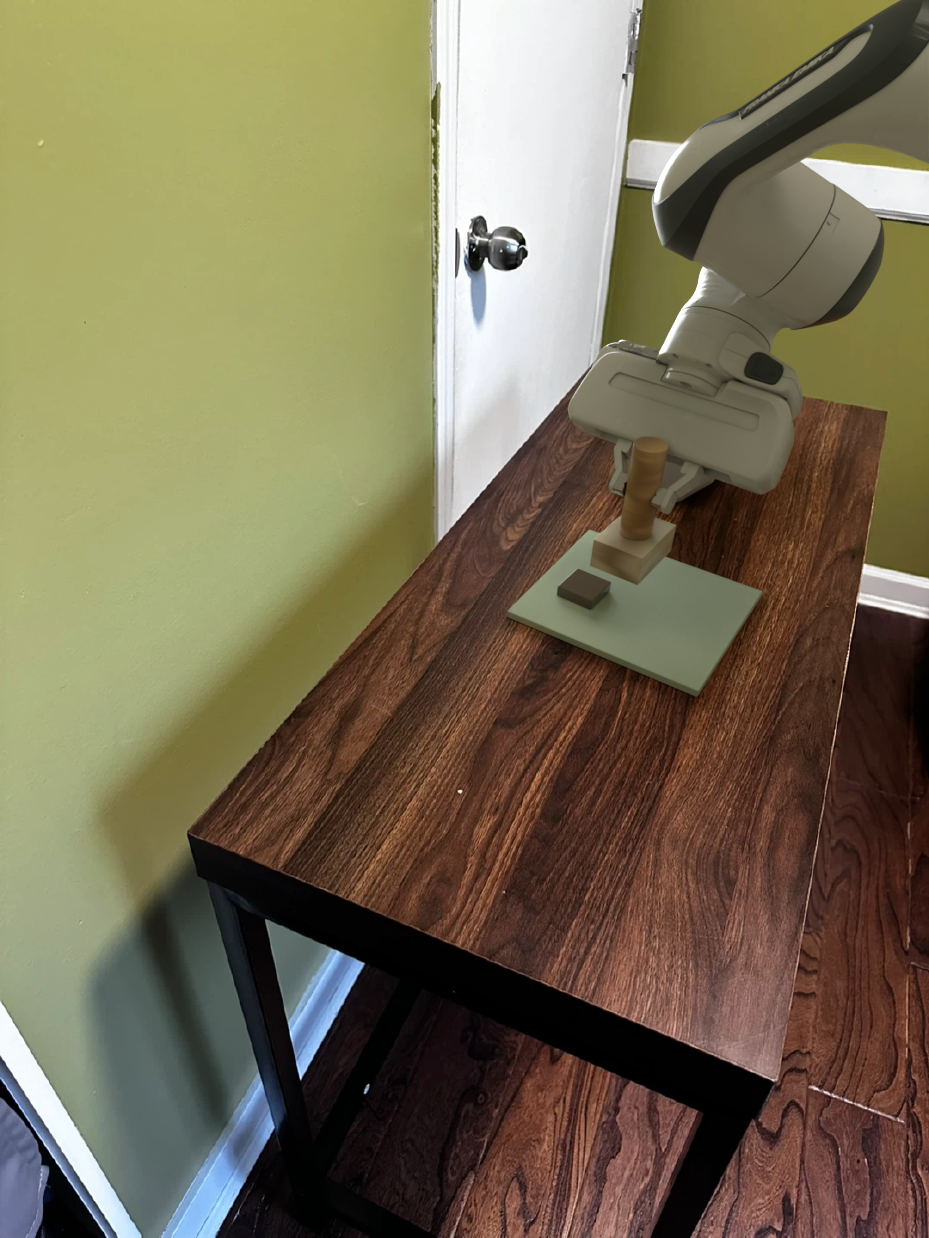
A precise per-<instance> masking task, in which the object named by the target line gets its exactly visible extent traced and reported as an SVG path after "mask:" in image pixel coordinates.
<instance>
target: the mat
mask: <svg viewBox="0 0 929 1238" xmlns="http://www.w3.org/2000/svg"><path fill="white" fill-rule="evenodd" d="M600 533H601V532H597V531H595V530H592V529H587V531H586V532H585V533H584V534H583V535H582V536H581V537H580V538H579V539H578V540H577V541H576V542H575V543H574V544H573V545H572V546H571V547H570V548H569V549H567V551H566V552H565V553H564V554H563V555H562V556H561V557H560V558H559V559H558V560H557V561H556V562H555V563H553V565H552V566H551V567H549V569H548V570H546V572H545V573H543V575H541V577H540V578H539V579H538V580H536V582H535V583H534V584H532V586H530V588H529V589H528V590H527V591H526V592H524V594H523V595H522V596H520V598H518V600H516V602H515V603H514V604H513V605H512V606H511V607H510V608H509V609H508V610H507V611H506V617H507V618H509V619H511V620H514V621H516V622H518V623H520V624H523V625H525V626H528V627H530V628H532V629H535V630H537V631H539V632H541V633H544V634H546V635H549V636H551V637H553V638H556V639H558V640H561V641H563V642H565V643H568V644H570V645H572V646H574V647H577V648H579V649H582V650H584V651H587V652H589V653H591V654H593V655H596V656H597V657H598V656H599V657H601V658H604V659H606V660H608V661H611V662H613V663H615V664H617V665H619V666H621V667H625V668H627V669H630V670H632V671H634V672H636V673H639V674H641V675H644V676H646V677H648V678H649V679H653V680H655V681H658V682H660V683H662V684H665V685H667V686H669V687H672V688H674V689H677V690H679V691H682V692H684V693H685V694H688V695H690V696H693V697H694V698H695V697H696V698H697V697H698V696H699V695H700V694H701V692H702V691H703V688H705V686H706V684H707V682H708V681H709V679H710V678H711V676H712V674H713V673H714V671H715V670H716V668H717V667H718V665H719V664H720V662H721V660H722V659H723V657H724V656H725V654H726V652H727V651H728V650H729V648H730V647H731V645H732V643H733V642H734V640H735V639H736V637H737V635H739V632H740V631H741V629H742V628H743V626H744V624H745V623H746V621H747V620H748V619H749V617H750V616H751V613H752V612H753V611H754V609H755V608H756V606H757V604H758V603H759V601H760V599H761V598H762V595H763V591H762V590H760V589H757V588H754V587H751V586H749V585H746V584H743V583H740V582H737V581H734V580H732V579H729V578H727V577H723V576H721V575H718V574H715V573H712V572H710V571H706V570H704V569H701V568H698V567H696V566H693V565H690V564H688V563H684V562H681V561H679V560H676V559H673V558H671V557H667V556H665V557H664V558H663V560H662V561H661V562H660V563H659V564H658V565H657V566H656V567H655V568H654V569H653V570H652V571H651V572H650V573H649V574H648V575H647V576H646V577H645V578H644V579H643V580H642V581H641V582H640V583H639V584H638V585H636V584H633V583H631V582H628V581H626V580H623V579H621V578H618V577H616V576H614V575H611V574H609V573H606V572H604V571H601V570H599V569H596V568H594V567H591V566H590V562H591V555H592V548H593V540H594V539H595V538H596V537H597V536H598V535H599V534H600ZM577 568H579V569H581V570H583V571H586V572H588V573H590V574H593V575H595V576H598V577H600V578H602V579H605V580H607V581H610V582H611V586H610V591H609V592H608V593H607V594H606V595H605V596H604V597H603V598H602V599H601V600H600V601H599V602H598V603H597V604H596V605H595V606H594V607H593V608H592V609H591V610H589V609H587V608H585V607H582V606H580V605H578V604H576V603H573V602H571V601H569V600H566V599H564V598H562V597H560V596H557V588H558V585H560V584H561V583H562V582H563V581H564V580H565V579H566V578H567V577H568V576H569V575H571V574H572V573H573V572H574V571H575V570H576V569H577Z"/></svg>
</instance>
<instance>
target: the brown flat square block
mask: <svg viewBox="0 0 929 1238" xmlns="http://www.w3.org/2000/svg"><path fill="white" fill-rule="evenodd" d="M610 586H611V582H610V581H607V580H605V579H602V578H600V577H598V576H595V575H593V574H590V573H588V572H586V571H583V570H581V569H579V568H577V569H576V570H575V571H574V572H573V573H572V574H571V575H569V576H568V577H567V578H566V579H565V580H564V581H563V582H562V583H561V584H560V585H558V588H557V596H560V597H562V598H564V599H566V600H569V601H571V602H573V603H576V604H578V605H580V606H582V607H585V608H587V609H589V610H591V609H592V608H593V607H594V606H595V605H596V604H597V603H598V602H599V601H600V600H601V599H602V598H603V597H604V596H605V595H606V594H607V593H608V592H609V591H610Z"/></svg>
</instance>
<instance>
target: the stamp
mask: <svg viewBox="0 0 929 1238" xmlns="http://www.w3.org/2000/svg"><path fill="white" fill-rule="evenodd" d="M667 452H668V444H667V443H666V442H665V441H663V440H661V439H659V438H655V437H640V438H637V439H636V440H635V441H634V442H633V448H632V454H631V460H630V466H629V473H628V479H627V485H626V491H625V497H623V504H622V511H621V514H620V515H619V516H618V517H617V518H616V519H615V520H614V521H613V522H611V523H610V524H609V525H608V526H606V528H605V529H604V530H603V531H601V532H599V533H600V534H599V535H598V536H597V537H596V538H595V539H594V540H593V548H592V555H591V562H590V566H591V567H594V568H596V569H599V570H601V571H604V572H606V573H609V574H611V575H614V576H616V577H618V578H621V579H623V580H626V581H628V582H631V583H633V584H636V585H638V584H639V583H640V582H641V581H642V580H643V579H644V578H645V577H646V576H647V575H648V574H649V573H650V572H651V571H652V570H653V569H654V568H655V567H656V566H657V565H658V564H659V563H660V562H661V561H662V560H663V558H664V557H667V556H668V554H670V553H671V551H672V547H673V541H674V538H675V532H676V528H677V525H676V524H674V523H673V522H672V523H671V522H669V521H667V520H664V519H661V518H658V517H656V515H657V510H656V509H653V507H652V506H651V501H652V499H653V497H654V496H656V491H657V489H658V488H659V486H661V483H662V478H663V473H664V467H665V462H666V457H667Z"/></svg>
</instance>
